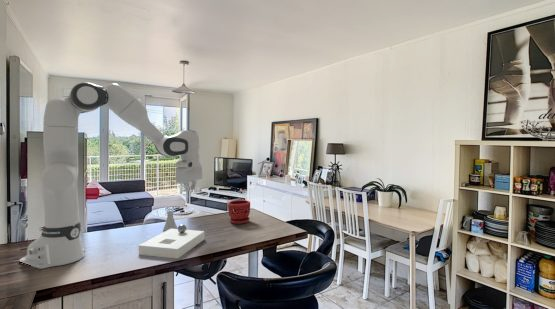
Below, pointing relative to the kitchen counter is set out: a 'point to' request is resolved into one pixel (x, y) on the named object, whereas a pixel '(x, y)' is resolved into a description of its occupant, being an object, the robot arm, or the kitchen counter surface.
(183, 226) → the steel ball
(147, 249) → the hole board
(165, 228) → the flask
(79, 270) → the kitchen counter surface
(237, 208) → the plant pot
